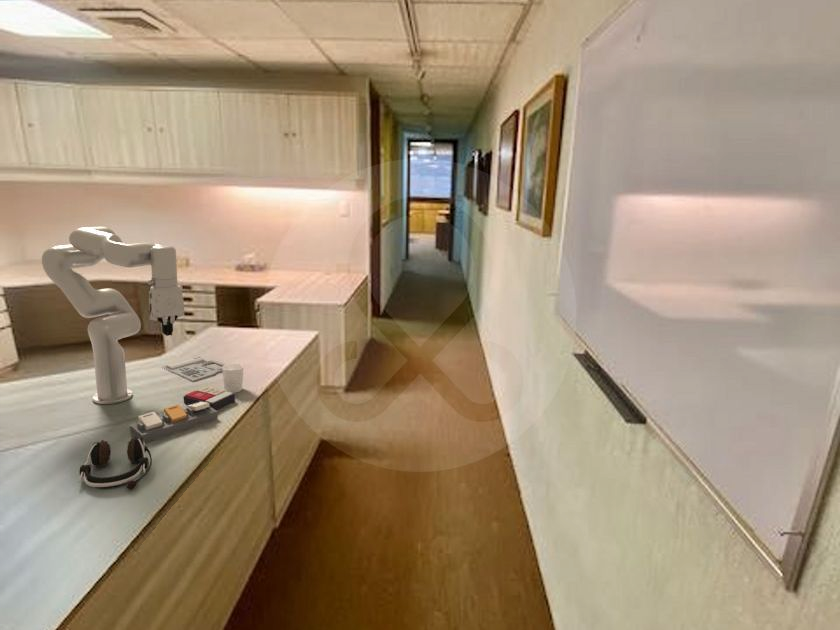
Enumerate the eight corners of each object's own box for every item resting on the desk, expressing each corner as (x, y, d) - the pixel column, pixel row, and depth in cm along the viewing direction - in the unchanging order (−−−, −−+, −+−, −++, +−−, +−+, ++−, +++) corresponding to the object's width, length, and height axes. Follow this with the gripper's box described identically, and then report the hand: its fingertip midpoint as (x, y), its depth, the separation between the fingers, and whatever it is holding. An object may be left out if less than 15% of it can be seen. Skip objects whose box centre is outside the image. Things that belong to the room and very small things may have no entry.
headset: (154, 429, 143) (146, 474, 127) (156, 450, 146) (149, 496, 129) (86, 436, 137) (69, 484, 120) (90, 458, 140) (73, 508, 123)
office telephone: (161, 364, 209) (202, 353, 226) (161, 369, 210) (202, 358, 226) (192, 377, 197) (233, 364, 214) (193, 383, 198) (234, 370, 214)
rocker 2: (196, 410, 163) (195, 406, 163) (187, 409, 167) (187, 405, 167) (209, 406, 167) (208, 402, 167) (201, 405, 171) (200, 401, 171)
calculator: (205, 385, 188) (235, 391, 182) (206, 395, 189) (235, 402, 183) (182, 394, 178) (212, 402, 173) (183, 405, 179) (213, 413, 174)
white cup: (223, 394, 188) (223, 371, 186) (221, 387, 195) (221, 364, 193) (244, 392, 192) (244, 369, 190) (242, 385, 199) (241, 362, 196)
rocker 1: (146, 430, 151) (146, 426, 151) (138, 419, 154) (138, 415, 154) (162, 425, 155) (162, 421, 155) (153, 414, 158) (154, 411, 158)
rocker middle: (172, 422, 158) (172, 419, 157) (163, 411, 161) (164, 407, 160) (186, 417, 162) (187, 414, 161) (178, 407, 164) (178, 403, 164)
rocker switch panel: (142, 443, 150) (141, 430, 148) (130, 433, 155) (129, 420, 154) (217, 418, 169) (217, 406, 168) (204, 410, 174) (204, 398, 173)
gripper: (146, 286, 152) (149, 341, 157) (192, 282, 164) (194, 333, 168) (136, 282, 157) (139, 335, 161) (181, 278, 168) (184, 328, 173)
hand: (167, 334), depth 165 cm, fingers closed
